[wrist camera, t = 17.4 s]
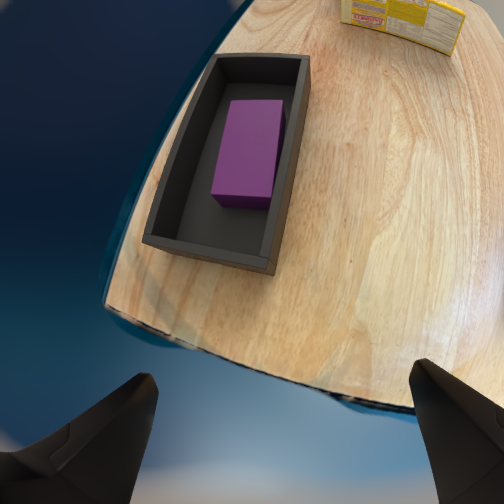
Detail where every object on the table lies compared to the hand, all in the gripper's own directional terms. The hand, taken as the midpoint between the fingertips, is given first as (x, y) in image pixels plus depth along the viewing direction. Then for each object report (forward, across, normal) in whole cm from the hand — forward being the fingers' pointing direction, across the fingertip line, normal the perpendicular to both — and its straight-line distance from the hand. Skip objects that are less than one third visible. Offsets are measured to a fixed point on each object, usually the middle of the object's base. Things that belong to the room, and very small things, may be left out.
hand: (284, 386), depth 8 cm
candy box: (+28, -19, -25) cm, 42 cm away
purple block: (+14, +2, -3) cm, 15 cm away
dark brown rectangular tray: (+19, +2, -7) cm, 20 cm away
